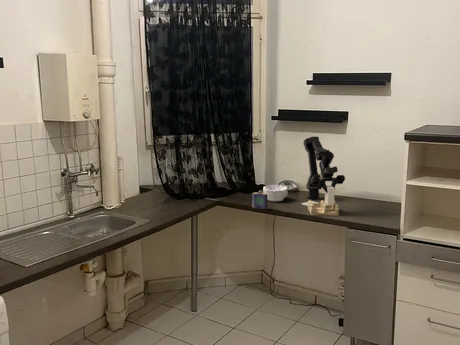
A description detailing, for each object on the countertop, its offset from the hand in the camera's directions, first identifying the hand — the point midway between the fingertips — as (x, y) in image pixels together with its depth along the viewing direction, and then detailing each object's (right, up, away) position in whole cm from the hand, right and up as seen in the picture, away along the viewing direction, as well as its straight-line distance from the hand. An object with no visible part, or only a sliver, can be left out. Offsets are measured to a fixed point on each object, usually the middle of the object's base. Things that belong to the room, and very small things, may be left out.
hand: (330, 192), depth 266 cm
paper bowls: (-28, -6, +30) cm, 42 cm away
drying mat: (-6, -8, +18) cm, 20 cm away
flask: (-39, -10, +11) cm, 42 cm away
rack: (-4, -11, +3) cm, 12 cm away
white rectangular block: (0, -7, +3) cm, 7 cm away
